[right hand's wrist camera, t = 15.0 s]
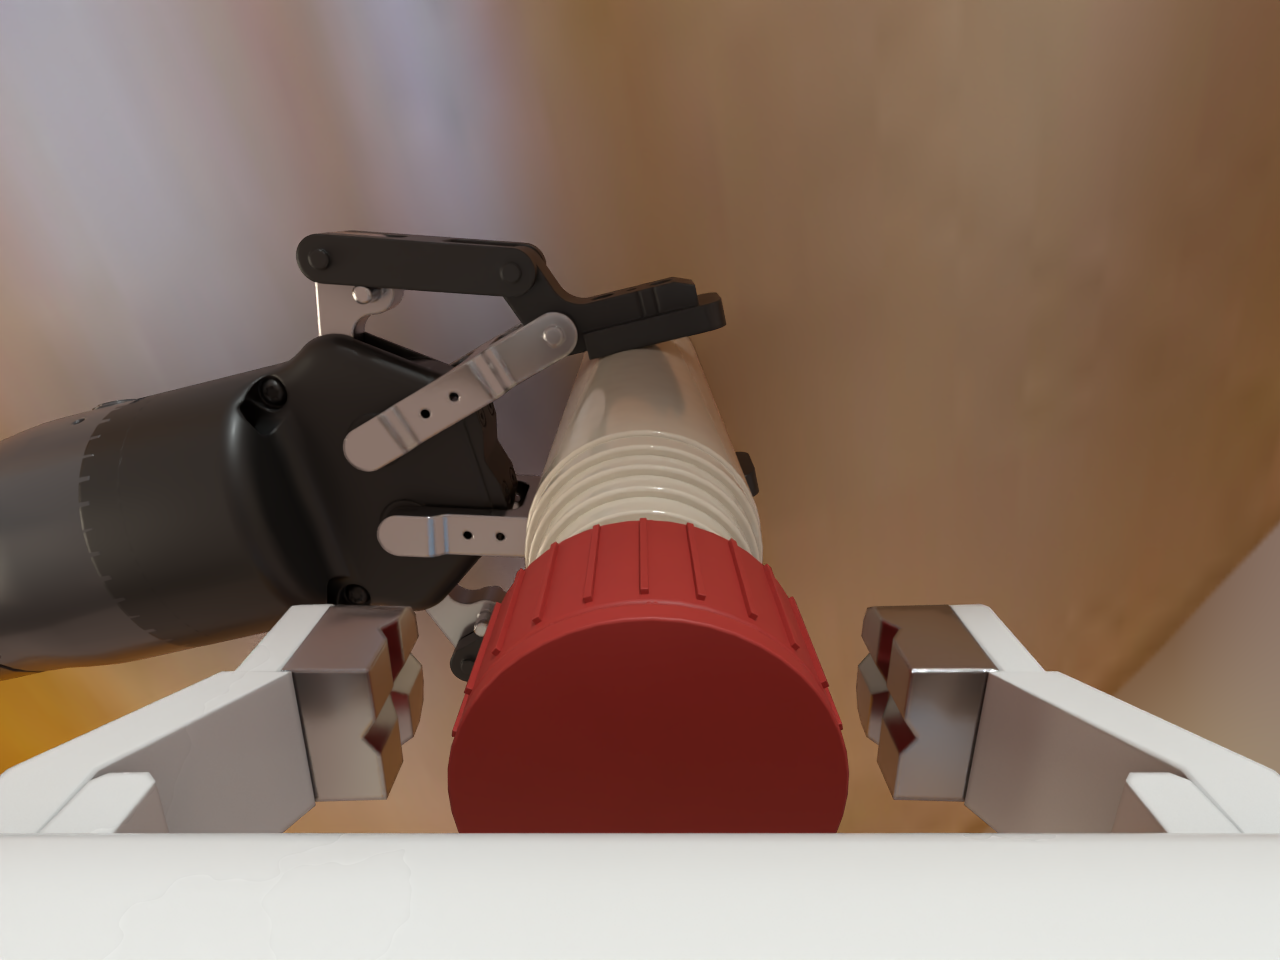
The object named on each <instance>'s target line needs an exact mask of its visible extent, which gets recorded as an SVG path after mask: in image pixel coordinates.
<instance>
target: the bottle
mask: <svg viewBox="0 0 1280 960" xmlns="http://www.w3.org/2000/svg"><path fill="white" fill-rule="evenodd" d="M640 518H647V520H655V521H669V522H675V523H680V524H685V525H686V524H687V522H688V523H692V524H694V527H697V528H700V529H703V530H706V531H709V532H712V533H715V534H717V535H719V536H721V537H723V538H725V539H727V540H730V538H732V539H734V540H735V541H736V542H737V545H738V546H739V547H741V548H742V549H744V550H745V551H747V552H748V553H750V554H751V555H752V556H753V557H754V558H756V559H757V560H758V561H759V562H760V563H761V564H762V562H763V543H762V535H761V526H760V518H759V514H758V510H757V507H756V504H755V501H754V498H753V496H752V493H751V491H750V488H749V486H748V483H747V481H746V478H745V476H744V473H743V471H742V468H741V466H740V463H739V460H738V458H737V455H736V453H735V450H734V448H733V445H732V443H731V440H730V438H729V435H728V433H727V430H726V428H725V425H724V423H723V420H722V417H721V415H720V412H719V410H718V407H717V405H716V402H715V400H714V397H713V395H712V392H711V390H710V387H709V385H708V382H707V380H706V377H705V374H704V372H703V369H702V367H701V364H700V362H699V359H698V357H697V354H696V352H695V349H694V347H693V345H692V343H691V341H690V339H689V338H688V336H687V337H683V338H679V339H675V340H671V341H666V342H662V343H658V344H654V345H650V346H646V347H642V348H637V349H633V350H627V351H622V352H619V353H615V354H612V355H608V356H604V357H600V358H596V359H592V360H590V359H589V356H588V352H587V351H585V353H584V356H583V358H582V361H581V364H580V367H579V370H578V373H577V376H576V378H575V381H574V384H573V387H572V390H571V393H570V396H569V398H568V401H567V404H566V407H565V410H564V413H563V416H562V418H561V421H560V424H559V427H558V430H557V433H556V436H555V438H554V441H553V444H552V447H551V450H550V453H549V456H548V458H547V461H546V464H545V467H544V470H543V473H542V476H541V478H540V481H539V484H538V487H537V490H536V493H535V496H534V498H533V501H532V504H531V507H530V510H529V514H528V519H527V524H526V538H525V551H524V556H525V568H527V567H528V566H529V565H530V564H531V563H532V562H533V561H534V560H536V559H537V558H538V557H539V556H541V555H542V554H543V553H544V552H546V551H547V550H549V549H550V546H551V544H552V543H554V542H557V543H558V544H559V543H560V542H562V541H563V540H565V539H568V538H570V537H572V536H574V535H577V534H579V533H581V532H583V531H586V530H590V529H593V526H594V525H597V524H599V525H600V526H603V525H607V524H613V523H619V522H625V521H639V520H640Z"/></svg>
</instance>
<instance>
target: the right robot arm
mask: <svg viewBox="0 0 1280 960" xmlns="http://www.w3.org/2000/svg"><path fill="white" fill-rule="evenodd" d="M418 636H419V635H418V628H417V622H416V615H415V613H414V611H413V609H412V608H411V606H376V605H333V604H311V605H295V606H291V607H290V608H289V609H288V611H287V612H286V613H285V614H284V615H283V616H282V617H281V619H280V620H279V621H278V622H277V623H276V624H275V625H274V627H273V628H272V629H271V630H270V631H269V632H268V633H267V635H266V636H265V637H264V638H263V639H262V640H261V641H260V643H259V644H258V645H257V646H256V647H255V648H254V650H253V651H252V652H251V653H250V654H249V655H248V656H247V658H246V659H245V660H244V661H243V662H242V663H241V664H240V666H239V667H238V668H237V669H236V670H235V671H222V672H220V673H217V674H215V675H213V676H211V677H209V678H206V679H204V680H202V681H200V682H198V683H195V684H193V685H191V686H189V687H187V688H184V689H182V690H180V691H178V692H176V693H173V694H171V695H169V696H167V697H165V698H162V699H160V700H158V701H156V702H154V703H151V704H149V705H147V706H145V707H143V708H141V709H138V710H136V711H134V712H132V713H130V714H127V715H125V716H123V717H121V718H119V719H116V720H114V721H112V722H110V723H108V724H105V725H103V726H101V727H99V728H97V729H94V730H92V731H90V732H88V733H86V734H83V735H81V736H79V737H77V738H75V739H72V740H70V741H68V742H66V743H64V744H62V745H59V746H57V747H55V748H53V749H51V750H48V751H46V752H44V753H42V754H40V755H37V756H35V757H33V758H31V759H29V760H26V761H24V762H22V763H20V764H18V765H15V766H13V767H11V768H9V769H7V770H6V771H5V772H4V773H2V774H1V775H0V960H1280V775H1279V774H1278V773H1277V772H1276V771H1275V770H1273V769H1271V768H1268V767H1266V766H1264V765H1262V764H1260V763H1257V762H1255V761H1253V760H1251V759H1249V758H1246V757H1244V756H1242V755H1240V754H1238V753H1236V752H1233V751H1231V750H1229V749H1227V748H1225V747H1222V746H1220V745H1218V744H1216V743H1214V742H1211V741H1209V740H1207V739H1205V738H1203V737H1201V736H1198V735H1196V734H1194V733H1192V732H1190V731H1187V730H1185V729H1183V728H1181V727H1179V726H1177V725H1174V724H1172V723H1170V722H1168V721H1166V720H1163V719H1161V718H1159V717H1157V716H1155V715H1152V714H1150V713H1148V712H1146V711H1144V710H1142V709H1139V708H1137V707H1135V706H1133V705H1131V704H1128V703H1126V702H1124V701H1122V700H1120V699H1117V698H1115V697H1113V696H1111V695H1109V694H1107V693H1104V692H1102V691H1100V690H1098V689H1096V688H1093V687H1091V686H1089V685H1087V684H1085V683H1082V682H1080V681H1078V680H1076V679H1074V678H1072V677H1069V676H1067V675H1065V674H1063V673H1061V672H1058V671H1045V670H1044V669H1043V668H1042V667H1041V665H1040V664H1039V663H1038V662H1037V661H1036V660H1035V659H1034V657H1033V656H1032V655H1031V654H1030V653H1029V652H1028V651H1027V649H1026V648H1025V647H1024V646H1023V645H1022V644H1021V643H1020V641H1019V640H1018V639H1017V638H1016V637H1015V636H1014V635H1013V633H1012V632H1011V631H1010V630H1009V629H1008V628H1007V627H1006V625H1005V624H1004V623H1003V622H1002V621H1001V620H1000V619H999V617H998V616H997V615H996V614H995V613H994V612H993V611H992V609H991V608H990V607H988V606H986V605H983V604H964V605H915V606H874V607H869V608H867V610H866V613H865V617H864V620H863V628H862V638H863V640H864V642H865V644H866V646H867V648H868V650H869V654H868V655H867V656H866V657H865V658H864V659H863V661H862V662H861V663H860V664H859V665H858V672H857V684H856V692H857V707H858V712H859V716H860V720H861V724H862V727H863V729H864V732H865V734H866V737H868V738H869V739H870V740H872V741H873V742H875V743H876V744H878V745H879V748H878V756H877V763H878V765H879V767H880V769H881V772H882V774H883V776H884V779H885V781H886V783H887V786H888V788H889V790H890V792H891V795H892V797H893V799H894V800H925V801H961V802H965V803H964V805H965V806H966V807H968V808H969V809H970V810H971V811H972V812H974V813H975V814H976V815H977V816H978V817H980V818H981V819H982V820H983V821H984V822H986V823H987V824H988V825H989V826H990V827H991V828H993V829H994V830H995V831H996V832H997V833H283V832H284V831H285V830H287V829H288V828H289V827H290V826H291V825H293V824H294V823H295V822H296V821H297V820H298V819H300V818H301V817H302V816H303V815H304V814H306V813H307V812H308V811H309V810H310V809H312V808H313V807H314V806H315V802H318V801H354V800H387V797H388V795H389V793H390V791H391V788H392V786H393V784H394V781H395V779H396V777H397V774H398V772H399V770H400V767H401V765H402V763H403V755H402V747H401V745H402V744H404V743H405V742H407V741H408V740H410V739H411V738H413V737H414V734H415V732H416V729H417V727H418V724H419V722H420V716H421V711H422V705H423V695H424V680H423V670H422V665H421V664H420V663H419V662H418V660H417V659H416V658H415V657H414V656H413V655H412V654H411V651H412V649H413V647H414V645H415V643H416V641H417V639H418Z"/></svg>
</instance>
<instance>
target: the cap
mask: <svg viewBox="0 0 1280 960" xmlns="http://www.w3.org/2000/svg"><path fill="white" fill-rule="evenodd" d="M828 687H829V684H828V682H827V679H826V677H825V674H824V672H823V669H822V667H821V664H820V662H819V659H818V657H817V654H816V652H815V649H814V647H813V644H812V642H811V639H810V637H809V634H808V632H807V629H806V627H805V624H804V622H803V619H802V617H801V614H800V612H799V609H798V607H797V604H796V602H795V600H794V598H793V597H790V598H788V596H787V595H786V593H785V592H784V590H783V588H782V587H781V585H780V584H779V582H778V581H777V580H776V579H775V577H774V575H773V572H772V569H771V567H770V566H769V565H768V564H766V565H765V566H764V565H763V564H761V563H760V562H759V561H758V560H757V559H756V558H754V557H753V556H752V555H751V554H750V553H748V552H747V551H745V550H744V549H742V548H741V547H739V546H738V545H737V542H736V541H735V540H734V539H732V538H730V540H727V539H725V538H723V537H721V536H719V535H717V534H715V533H712V532H709V531H706V530H703V529H700V528H697V527H694V524H692V523H688V522H687V524H686V525H685V524H680V523H675V522H669V521H655V520H647V518H640V520H639V521H625V522H619V523H613V524H607V525H603V526H600V525H599V524H597V525H594V526H593V529H590V530H586V531H583V532H581V533H579V534H577V535H574V536H572V537H570V538H568V539H565V540H563V541H562V542H560V543H559V544H558V543H557V542H554V543H552V544H551V546H550V549H549V550H547V551H546V552H544V553H543V554H542V555H541V556H539V557H538V558H537V559H536V560H534V561H533V562H532V563H531V564H530V565H529V566H528V567H527V568H526V569H525V570H523V569H522V568H521V569H520V570H519V571H518V572H517V575H516V578H515V581H514V583H513V585H512V586H511V587H510V589H509V590H508V592H507V593H506V595H505V597H504V599H503V601H502V603H498V602H496V604H495V606H494V609H493V612H492V614H491V617H490V620H489V623H488V626H487V629H486V631H485V634H484V637H483V640H482V643H481V646H480V648H479V651H478V654H477V657H476V660H475V663H474V665H473V668H472V671H471V674H470V677H469V680H468V682H467V685H466V688H465V691H464V693H465V696H464V699H463V702H462V705H461V708H460V710H459V713H458V716H457V719H456V722H455V725H454V728H453V730H452V737H454V740H453V743H452V746H451V751H450V757H449V764H448V793H449V799H450V805H451V811H452V814H453V817H454V820H455V823H456V826H457V829H458V832H459V833H836V832H837V830H838V827H839V825H840V822H841V820H842V817H843V813H844V809H845V804H846V799H847V795H848V781H849V768H848V759H847V751H846V747H845V744H844V740H843V737H842V733H841V730H843V727H842V722H841V720H840V717H839V715H838V712H837V710H836V707H835V705H834V702H833V700H832V697H831V695H830V692H829V689H828Z"/></svg>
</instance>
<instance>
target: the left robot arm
mask: <svg viewBox="0 0 1280 960" xmlns="http://www.w3.org/2000/svg"><path fill="white" fill-rule="evenodd" d="M296 259H297V264H298V266H299V268H300V270H301V272H302V273H303V274H304V275H305V276H306V277H307V278H308V279H310V280H312V281H314V282H315V287H316V300H317V313H318V327H319V337H317V338H315V339H313V340H311V341H310V342H308V343H307V344H306V345H305V346H304V347H303V348H302V349H301V350H300V351H299V353H298V354H297V355H296V356H295V357H293V358H292V359H291V360H289V361H287V362H284V363H280V364H276V365H272V366H268V367H264V368H260V369H256V370H252V371H248V372H244V373H240V374H236V375H232V376H228V377H224V378H220V379H216V380H212V381H208V382H204V383H200V384H196V385H192V386H188V387H184V388H180V389H176V390H172V391H168V392H164V393H160V394H156V395H152V396H148V397H144V398H140V399H126V400H118V401H112V402H107V403H104V404H100V405H98V406H97V407H96V408H93V409H92V410H91V411H88V412H84V413H80V414H76V415H72V416H68V417H64V418H60V419H57V420H53V421H50V422H46V423H43V424H41V425H38V426H36V427H33V428H30V429H28V430H26V431H23V432H21V433H18V434H16V435H14V436H12V437H9V438H7V439H5V440H2V441H0V681H3V680H8V679H12V678H17V677H22V676H26V675H31V674H35V673H40V672H44V671H49V670H57V669H63V668H70V667H89V666H100V665H110V664H120V663H125V662H131V661H137V660H141V659H146V658H150V657H155V656H159V655H164V654H168V653H173V652H177V651H181V650H186V649H190V648H195V647H200V646H205V645H210V644H215V643H219V642H224V641H228V640H233V639H237V638H242V637H246V636H251V635H255V634H260V633H264V632H269V631H270V630H271V629H272V628H273V627H274V625H275V624H276V623H277V622H278V621H279V620H280V619H281V617H282V616H283V615H284V614H285V613H286V612H287V611H288V609H289V608H290V607H291V606H295V605H311V604H333V605H383V606H411V608H412V609H413V611H421V610H426V612H427V613H428V614H429V615H430V617H431V618H432V619H433V620H434V622H435V623H436V624H437V625H438V627H439V628H440V629H441V631H442V632H443V633H444V634H445V636H446V637H447V638H448V639H449V641H450V642H451V643H452V644H453V646H454V647H455V650H454V653H453V655H452V657H451V660H450V668H451V670H452V672H453V673H454V675H455V676H456V677H458V678H459V679H461V680H463V681H467V682H468V680H469V677H470V674H471V671H472V668H473V665H474V663H475V660H476V657H477V654H478V651H479V648H480V646H481V643H482V640H483V637H484V634H485V631H486V629H487V626H488V623H489V620H490V617H491V614H492V612H493V609H494V606H495V604H496V602H498V603H502V601H503V599H504V597H505V595H506V592H505V591H503V590H502V588H501V587H499V586H489V587H484V588H481V589H479V590H468V589H465V588H462V587H461V586H459V585H458V583H459V581H460V580H461V579H462V578H463V577H464V576H465V575H466V573H467V572H468V571H469V570H470V569H471V568H472V566H473V565H474V564H475V563H476V562H477V561H478V559H479V558H480V557H481V556H502V557H525V556H524V551H525V538H526V524H527V519H528V514H529V510H530V507H531V504H532V501H533V498H534V496H535V493H536V490H537V487H538V484H539V481H540V478H541V476H530V475H515V471H514V468H513V465H512V462H511V460H510V459H509V457H508V456H507V454H506V452H505V451H504V449H503V448H502V446H501V445H500V443H499V441H498V439H497V423H496V411H495V408H494V405H493V401H495V400H496V399H498V398H499V397H501V396H502V395H504V394H505V393H506V392H508V391H509V390H510V389H511V388H513V387H514V386H516V385H518V384H519V383H521V382H523V381H524V380H526V379H528V378H530V377H531V376H533V375H535V374H536V373H538V372H540V371H542V370H543V369H545V368H547V367H548V366H550V365H552V364H554V363H555V362H557V361H559V360H560V359H562V358H564V357H566V356H569V355H573V354H577V353H581V352H585V351H587V352H588V356H589V359H590V360H592V359H596V358H600V357H604V356H608V355H612V354H615V353H619V352H622V351H627V350H633V349H637V348H642V347H646V346H650V345H654V344H658V343H662V342H666V341H671V340H675V339H679V338H683V337H687V336H691V335H695V334H699V333H704V332H708V331H712V330H715V329H718V328H721V327H723V326H725V325H726V320H725V315H724V310H723V305H722V301H721V298H720V296H719V295H718V294H717V293H706V294H701V295H697V293H696V288H695V285H694V283H693V281H692V280H690V279H683V278H676V277H670V278H666V279H662V280H658V281H654V282H650V283H646V284H642V285H638V286H634V287H630V288H625V289H621V290H617V291H613V292H609V293H605V294H601V295H597V296H593V297H589V298H579V297H575V296H573V295H570V294H569V293H567V292H566V291H565V290H564V289H563V288H562V287H561V286H560V285H559V283H558V282H557V280H556V279H555V277H554V276H553V274H552V273H551V271H550V270H549V269H548V267H547V266H546V260H545V257H544V255H543V253H542V252H541V251H540V250H539V249H538V248H537V247H536V246H534V245H532V244H529V243H520V242H506V241H492V240H478V239H464V238H450V237H436V236H422V235H408V234H394V233H381V232H367V231H338V232H328V233H320V234H312V235H309V236H307V237H305V238H304V239H303V240H302V241H301V242H300V243H299V245H298V247H297V251H296ZM404 290H418V291H432V292H446V293H461V294H475V295H489V296H503V297H504V299H505V300H506V301H507V303H508V304H509V306H510V307H511V308H512V310H513V311H514V313H515V314H516V315H517V317H518V318H519V320H520V321H521V323H519V324H517V325H516V326H514V327H512V328H511V329H509V330H507V331H506V332H504V333H502V334H499V335H498V336H496V337H494V338H492V339H491V340H489V341H487V342H486V343H484V344H482V345H481V346H479V347H477V348H476V349H474V350H472V351H471V352H469V353H467V354H466V355H464V356H462V357H461V358H459V359H457V360H456V361H454V362H452V363H451V364H449V365H448V364H446V363H443V362H441V361H438V360H436V359H433V358H431V357H428V356H425V355H423V354H420V353H418V352H415V351H413V350H410V349H408V348H405V347H403V346H400V345H398V344H395V343H392V342H390V341H387V340H385V339H382V338H380V337H377V336H375V335H372V334H370V333H367V332H364V328H365V323H366V321H367V319H368V318H369V317H370V316H371V315H374V314H380V313H383V312H385V311H388V310H390V309H392V308H394V307H396V306H397V305H398V304H399V303H400V302H401V300H402V298H403V295H404ZM735 453H736V455H737V458H738V460H739V463H740V466H741V468H742V471H743V473H744V476H745V478H746V481H747V483H748V486H749V488H750V491H751V493H752V496H755V495H756V494H758V492H759V488H758V483H757V478H756V473H755V468H754V466H753V463H752V461H751V459H750V456H749V454H748V453H746V452H735ZM516 495H519V496H516Z"/></svg>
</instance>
